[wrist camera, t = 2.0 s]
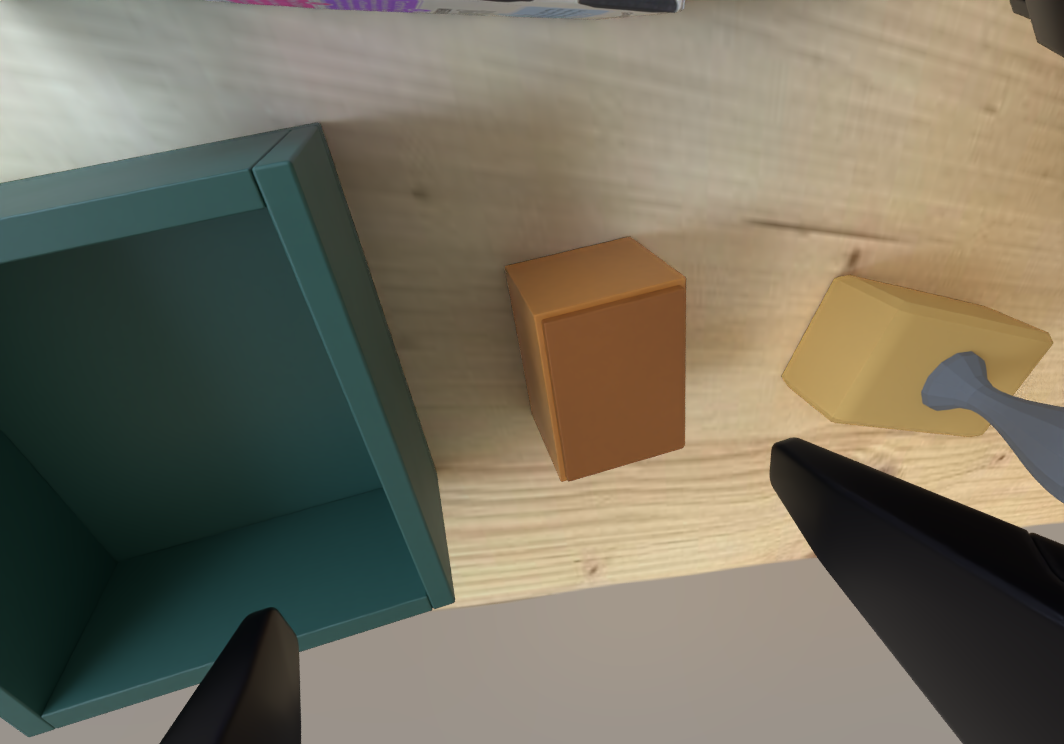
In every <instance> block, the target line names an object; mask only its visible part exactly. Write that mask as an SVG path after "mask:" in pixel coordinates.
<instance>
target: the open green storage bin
mask: <svg viewBox="0 0 1064 744" xmlns="http://www.w3.org/2000/svg"><path fill="white" fill-rule="evenodd" d="M454 602H455V595H454V588H453V581H452V575H451V568H450V561H449V554H448V547H447V540H446V533H445V527H444V520H443V513H442V506H441V499H440V492H439V486H438V478H437V473H436V470H435V467H434V464H433V461H432V458H431V455H430V452H429V449H428V446H427V443H426V440H425V437H424V434H423V431H422V428H421V425H420V421H419V418H418V415H417V412H416V409H415V406H414V403H413V400H412V397H411V394H410V391H409V388H408V385H407V382H406V379H405V376H404V373H403V370H402V367H401V364H400V361H399V358H398V355H397V352H396V349H395V346H394V343H393V340H392V337H391V334H390V331H389V328H388V325H387V322H386V319H385V316H384V313H383V310H382V307H381V304H380V301H379V298H378V295H377V292H376V289H375V286H374V283H373V280H372V277H371V274H370V271H369V268H368V265H367V262H366V259H365V256H364V253H363V250H362V247H361V244H360V241H359V238H358V235H357V232H356V229H355V226H354V223H353V220H352V217H351V214H350V211H349V208H348V205H347V202H346V199H345V196H344V193H343V190H342V187H341V184H340V181H339V178H338V175H337V172H336V169H335V166H334V163H333V160H332V157H331V154H330V151H329V148H328V145H327V142H326V139H325V136H324V133H323V130H322V127H321V124H320V123H318V122H317V123H311V124H306V125H301V126H296V127H291V128H285V129H280V130H275V131H270V132H265V133H259V134H254V135H249V136H244V137H239V138H233V139H228V140H223V141H218V142H213V143H207V144H202V145H197V146H192V147H187V148H181V149H176V150H171V151H166V152H161V153H155V154H150V155H145V156H140V157H135V158H129V159H124V160H119V161H114V162H109V163H103V164H98V165H93V166H88V167H83V168H77V169H72V170H67V171H62V172H57V173H52V174H46V175H41V176H36V177H31V178H26V179H20V180H15V181H10V182H5V183H0V717H1V718H2V719H4V720H5V721H6V722H8V723H9V724H11V725H12V726H13V727H15V728H16V729H17V730H19V731H20V732H22V733H23V734H24V735H26V736H27V737H31V736H35V735H38V734H41V733H44V732H48V731H51V730H54V729H55V728H60V727H63V726H66V725H70V724H73V723H76V722H79V721H82V720H85V719H89V718H92V717H95V716H98V715H101V714H104V713H108V712H110V711H114V710H117V709H120V708H123V707H126V706H130V705H133V704H136V703H139V702H143V701H146V700H149V699H152V698H155V697H158V696H162V695H165V694H168V693H171V692H174V691H177V690H181V689H184V688H187V687H190V686H193V685H197V684H200V683H201V681H202V680H203V679H204V677H205V676H206V674H207V673H208V671H209V670H210V668H211V667H212V665H213V664H214V662H215V661H216V659H217V658H218V656H219V655H220V653H221V652H222V650H223V649H224V648H225V646H226V645H227V643H228V642H229V640H230V639H231V637H232V636H233V634H234V633H235V631H236V630H237V628H238V627H239V625H240V624H241V622H242V621H243V620H244V618H245V617H246V616H247V615H249V614H251V613H253V612H256V611H259V610H262V609H265V608H268V607H274V608H276V609H277V610H278V611H279V612H280V613H281V615H282V616H283V617H284V619H285V620H286V621H287V623H288V624H289V625H290V627H291V628H292V629H293V631H294V632H295V634H296V636H297V639H298V644H299V652H301V651H304V650H308V649H311V648H314V647H317V646H320V645H323V644H326V643H330V642H333V641H336V640H339V639H342V638H346V637H349V636H352V635H355V634H358V633H362V632H365V631H368V630H371V629H374V628H377V627H380V626H383V625H387V624H390V623H393V622H396V621H400V620H402V619H406V618H409V617H412V616H415V615H418V614H422V613H425V612H428V611H431V610H432V607H433V608H434V609H436V608H440V607H443V606H446V605H449V604H452V603H454Z"/></svg>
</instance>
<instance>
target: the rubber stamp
mask: <svg viewBox="0 0 1064 744" xmlns="http://www.w3.org/2000/svg"><path fill="white" fill-rule="evenodd" d="M1052 344H1053V341H1052V339H1051V337H1050V335H1049V333H1047V332H1045V331H1043V330H1040V329H1038V328H1036V327H1033V326H1031V325H1029V324H1026V323H1024V322H1021V321H1019V320H1017V319H1014V318H1012V317H1009V316H1007V315H1005V314H1002V313H1000V312H998V311H995V310H993V309H990V308H988V307H985V306H981V305H977V304H972V303H968V302H964V301H959V300H955V299H951V298H947V297H942V296H938V295H934V294H929V293H925V292H921V291H917V290H912V289H908V288H904V287H899V286H895V285H891V284H887V283H882V282H878V281H874V280H869V279H865V278H861V277H857V276H852V275H847V276H842V277H837V278H834V280H833V282H832V284H831V286H830V287H829V289H828V291H827V293H826V295H825V297H824V299H823V300H822V302H821V304H820V306H819V308H818V310H817V312H816V313H815V315H814V317H813V319H812V321H811V323H810V325H809V326H808V328H807V330H806V332H805V334H804V336H803V337H802V339H801V341H800V343H799V345H798V347H797V349H796V350H795V352H794V354H793V356H792V358H791V360H790V362H789V363H788V365H787V367H786V369H785V371H784V373H783V375H782V378H783V379H784V381H785V383H786V384H787V386H788V387H789V388H791V389H792V390H793V391H794V392H795V393H797V394H798V395H799V396H800V397H802V398H803V399H804V400H805V401H806V402H808V403H809V404H810V405H811V406H813V407H814V408H815V409H816V410H818V411H819V412H820V413H821V414H822V415H824V416H825V417H826V418H827V419H829V420H830V421H831V422H834V423H841V424H850V425H860V426H869V427H878V428H888V429H897V430H907V431H916V432H926V433H935V434H945V435H954V436H963V437H973V436H980V435H983V434H984V432H985V431H986V430H987V428H988V427H989V426H990V425H992V426H993V427H994V428H995V429H996V430H997V431H998V432H999V434H1000V435H1001V436H1002V437H1003V438H1004V440H1005V441H1006V442H1007V443H1008V445H1009V446H1010V447H1011V449H1012V450H1013V451H1014V453H1015V454H1016V455H1017V457H1018V458H1019V460H1020V461H1021V462H1022V463H1023V465H1024V466H1025V467H1026V469H1027V470H1028V471H1029V472H1030V473H1031V475H1032V476H1033V477H1034V478H1035V479H1036V480H1037V481H1038V482H1039V483H1040V484H1041V485H1042V486H1043V487H1044V488H1045V489H1046V490H1047V491H1048V492H1049V493H1050V494H1052V495H1053V496H1054V497H1055V498H1057V499H1058V500H1059V501H1061V502H1062V503H1064V407H1059V406H1054V405H1048V404H1043V403H1038V402H1033V401H1029V400H1025V399H1021V398H1018V397H1015V396H1013V395H1014V393H1015V392H1016V391H1017V390H1018V388H1019V387H1020V386H1021V384H1022V383H1023V382H1024V381H1025V379H1026V378H1027V377H1028V375H1029V374H1030V373H1031V371H1032V370H1033V369H1034V368H1035V366H1036V365H1037V364H1038V362H1039V361H1040V360H1041V359H1042V357H1043V356H1044V355H1045V353H1046V352H1047V351H1048V349H1049V348H1050V347H1051V346H1052Z"/></svg>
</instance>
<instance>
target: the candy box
mask: <svg viewBox="0 0 1064 744" xmlns="http://www.w3.org/2000/svg"><path fill="white" fill-rule="evenodd" d="M205 1H218V2H230V3H242V4H257V5H275V6H292V7H304V8H317V9H341V10H364V11H388V12H414V13H440V14H467V15H491V16H515V17H539V18H571V19H593V20H597V19H606V18H616V17H628V16H641V15H653V14H663V13H675V12H679V11H681V10H683V9H684V4H685V0H205Z"/></svg>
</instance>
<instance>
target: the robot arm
mask: <svg viewBox="0 0 1064 744" xmlns="http://www.w3.org/2000/svg"><path fill="white" fill-rule="evenodd" d="M1010 3H1011V7H1012V10H1013V12H1014V13H1016V14H1019V15H1021V16H1024V17H1026V18H1029V19H1031V23H1032V26H1033V29H1034V33H1035V36H1036V39H1037V42H1038V43H1039V44H1041V45H1043V46H1045V47H1046V48H1048V49H1050V50H1052V51H1053V52H1055V53H1057V54H1058V55H1060V56H1062V57H1064V0H1010ZM770 481H771V484H772V486H773V488H774V490H775V491H776V493H777V495H778V496H779V498H780V499H781V501H782V503H783V504H784V506H785V507H786V509H787V511H788V512H789V514H790V515H791V517H792V518H793V520H794V522H795V523H796V525H797V526H798V528H799V530H800V531H801V533H802V534H803V536H804V538H805V539H806V541H807V542H808V544H809V545H810V547H811V549H812V550H813V552H814V553H815V555H816V556H817V558H818V559H819V560H820V562H821V563H822V564H823V566H824V567H825V568H826V570H827V571H828V572H829V574H830V575H831V576H832V577H833V579H834V580H835V581H836V582H837V584H838V585H839V586H840V588H841V589H842V590H843V592H844V593H845V594H846V595H847V597H848V598H849V599H850V600H851V602H852V603H853V604H854V606H855V607H856V608H857V609H858V611H859V612H860V613H861V614H862V616H863V617H864V618H865V620H866V621H867V622H868V623H869V625H870V626H871V627H872V629H873V630H874V631H875V632H876V634H877V635H878V636H879V637H880V639H881V640H882V641H883V643H884V644H885V645H886V646H887V648H888V649H889V650H890V651H891V653H892V654H893V655H894V656H895V658H896V659H897V660H898V662H899V663H900V664H901V666H902V667H903V668H904V669H905V671H906V672H907V673H908V674H909V676H910V677H911V678H912V680H913V681H914V682H915V683H916V685H917V686H918V687H919V689H920V690H921V691H922V692H923V694H924V695H925V696H926V697H927V699H928V700H929V701H930V702H931V704H932V705H933V706H934V708H935V709H936V710H937V711H938V713H939V714H940V715H941V717H942V718H943V719H944V720H945V722H946V723H947V724H948V726H949V727H950V728H951V729H952V730H953V732H954V733H955V734H956V736H957V737H958V738H959V739H960V741H961V742H962V743H963V744H1064V545H1063V544H1060V543H1058V542H1055V541H1053V540H1050V539H1048V538H1045V537H1043V536H1040V535H1038V534H1036V533H1028V531H1027V530H1025V529H1023V528H1020V527H1018V526H1015V525H1013V524H1010V523H1008V522H1005V521H1003V520H1000V519H998V518H995V517H993V516H990V515H988V514H986V513H983V512H981V511H978V510H976V509H973V508H971V507H968V506H966V505H963V504H961V503H958V502H956V501H953V500H951V499H948V498H946V497H943V496H941V495H938V494H936V493H933V492H931V491H928V490H926V489H924V488H921V487H919V486H916V485H914V484H911V483H909V482H906V481H904V480H901V479H899V478H896V477H894V476H891V475H889V474H886V473H884V472H881V471H879V470H876V469H874V468H871V467H869V466H866V465H864V464H862V463H859V462H857V461H854V460H852V459H849V458H847V457H844V456H842V455H839V454H837V453H834V452H832V451H829V450H827V449H824V448H822V447H819V446H817V445H814V444H812V443H809V442H807V441H804V440H802V439H799V438H789V439H786V440H783V441H780V442H776V443H775V444H774V445H773V446H772V450H771V462H770ZM300 708H301V707H300V671H299V644H298V639H297V636H296V634H295V632H294V631H293V629H292V628H291V627H290V625H289V624H288V623H287V621H286V620H285V619H284V617H283V616H282V615H281V613H280V612H279V611H278V610H277V609H276V608H274V607H268V608H265V609H262V610H259V611H256V612H253V613H251V614H249V615H247V616H246V617H245V618H244V620H243V621H242V622H241V624H240V625H239V627H238V628H237V630H236V631H235V633H234V634H233V636H232V637H231V639H230V640H229V642H228V643H227V645H226V646H225V648H224V649H223V650H222V652H221V653H220V655H219V656H218V658H217V659H216V661H215V662H214V664H213V665H212V667H211V668H210V670H209V671H208V673H207V674H206V676H205V677H204V679H203V680H202V681H201V683H200V685H199V686H198V687H197V689H196V690H195V692H194V693H193V695H192V696H191V698H190V699H189V701H188V702H187V704H186V705H185V707H184V708H183V710H182V711H181V712H180V714H179V715H178V717H177V718H176V720H175V722H174V723H173V724H172V726H171V727H170V729H169V730H168V732H167V733H166V735H165V736H164V738H163V739H162V741H161V742H160V744H301V709H300Z"/></svg>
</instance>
